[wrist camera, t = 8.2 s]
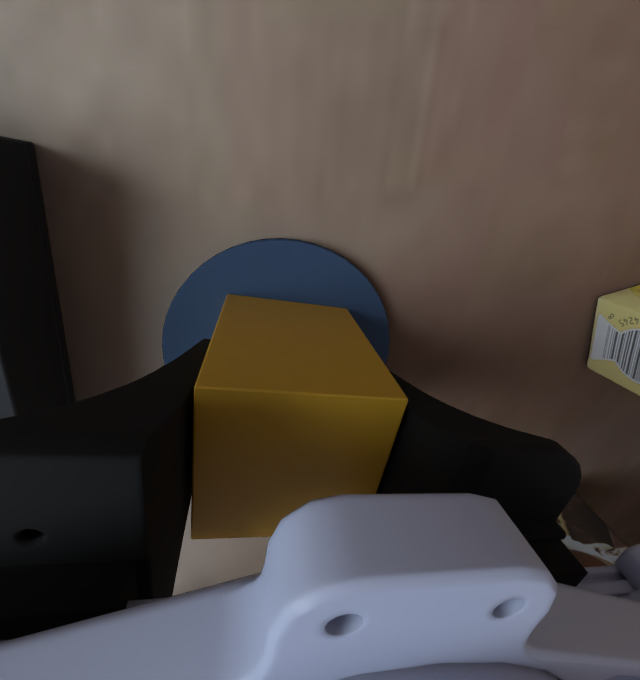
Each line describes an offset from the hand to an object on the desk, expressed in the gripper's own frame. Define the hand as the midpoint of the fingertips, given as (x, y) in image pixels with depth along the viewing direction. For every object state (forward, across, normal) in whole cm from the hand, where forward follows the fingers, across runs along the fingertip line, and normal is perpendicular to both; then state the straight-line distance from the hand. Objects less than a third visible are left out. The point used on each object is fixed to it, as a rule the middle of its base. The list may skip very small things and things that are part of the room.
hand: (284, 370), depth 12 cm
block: (+1, 0, 0) cm, 1 cm away
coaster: (+2, 0, 0) cm, 2 cm away
